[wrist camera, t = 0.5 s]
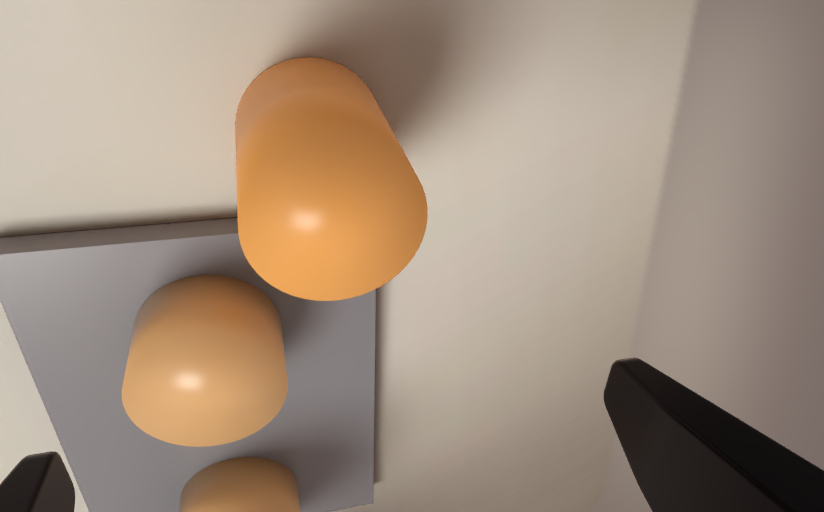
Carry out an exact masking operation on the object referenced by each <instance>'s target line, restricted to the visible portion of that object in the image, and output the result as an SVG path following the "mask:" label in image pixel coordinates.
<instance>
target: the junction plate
mask: <svg viewBox="0 0 824 512" xmlns="http://www.w3.org/2000/svg"><path fill="white" fill-rule="evenodd" d="M0 301H1V304H2V306H3V308H4V311H5V313H6V316H7V318H8V320H9V323H10V325H11V327H12V330H13V332H14V334H15V337H16V339H17V342H18V344H19V346H20V349H21V351H22V353H23V356H24V358H25V360H26V363H27V365H28V368H29V370H30V372H31V375H32V377H33V379H34V382H35V384H36V387H37V389H38V391H39V394H40V396H41V398H42V401H43V403H44V405H45V408H46V410H47V413H48V415H49V417H50V420H51V422H52V424H53V427H54V429H55V431H56V434H57V436H58V439H59V441H60V443H61V446H62V448H63V450H64V453H65V455H66V458H67V460H68V462H69V465H70V467H71V469H72V472H73V474H74V476H75V479H76V481H77V484H78V486H79V488H80V491H81V493H82V495H83V498H84V500H85V502H86V505H87V507H88V510H89V512H329V511H335V510H340V509H345V508H350V507H356V506H361V505H366V504H371V503H373V484H374V397H375V311H376V289H375V290H373V291H371V292H368V293H365V294H363V295H360V296H356V297H353V298H349V299H343V300H335V301H315V300H309V299H303V298H299V297H295V296H292V295H290V294H287V293H285V292H282V291H280V290H279V289H277V288H275V287H273V286H272V285H270V284H269V283H268V282H266V281H265V280H264V279H263V278H262V277H260V276H259V275H258V274H257V273H256V271H255V270H254V269H253V268H252V266H251V265H250V264H249V262H248V260H247V259H246V257H245V255H244V252H243V250H242V247H241V244H240V240H239V235H238V218H229V219H218V220H206V221H194V222H182V223H170V224H158V225H146V226H134V227H122V228H110V229H98V230H86V231H74V232H63V233H51V234H39V235H27V236H15V237H3V238H0Z"/></svg>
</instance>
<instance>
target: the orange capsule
mask: <svg viewBox="0 0 824 512" xmlns="http://www.w3.org/2000/svg"><path fill="white" fill-rule="evenodd" d="M235 136H236V175H237V214H238V235H239V240H240V244H241V247H242V250H243V252H244V255H245V257H246V259H247V260H248V262H249V264H250V265H251V266H252V268H253V269H254V270H255V271H256V273H257V274H258V275H259V276H260V277H262V278H263V279H264V280H265V281H266V282H268V283H269V284H270V285H272V286H273V287H275V288H277V289H279V290H280V291H282V292H285V293H287V294H290V295H292V296H295V297H299V298H303V299H309V300H315V301H335V300H343V299H349V298H353V297H356V296H360V295H363V294H365V293H368V292H371V291H373V290H375V289H377V288H379V287H381V286H382V285H384V284H385V283H387V282H388V281H390V280H391V279H393V278H394V277H395V276H396V275H397V274H399V273H400V272H401V271H402V270H403V269H404V268H405V267H406V266H407V264H408V263H409V262H410V261H411V259H412V258H413V257H414V255H415V253H416V252H417V250H418V248H419V246H420V244H421V242H422V239H423V237H424V233H425V230H426V224H427V202H426V196H425V193H424V190H423V187H422V185H421V183H420V181H419V179H418V177H417V175H416V173H415V172H414V170H413V168H412V166H411V164H410V162H409V161H408V159H407V157H406V155H405V153H404V151H403V149H402V148H401V146H400V144H399V142H398V140H397V138H396V137H395V135H394V133H393V131H392V129H391V127H390V126H389V124H388V122H387V120H386V118H385V116H384V114H383V113H382V111H381V109H380V107H379V105H378V103H377V102H376V100H375V98H374V96H373V94H372V92H371V91H370V89H369V88H368V86H367V85H366V84H365V83H364V82H363V80H362V79H361V78H360V77H359V76H357V75H356V74H355V73H354V72H353V71H351V70H350V69H348V68H346V67H345V66H343V65H341V64H338V63H336V62H333V61H330V60H327V59H322V58H315V57H303V58H294V59H290V60H286V61H283V62H280V63H278V64H275V65H274V66H272V67H270V68H268V69H267V70H265V71H264V72H262V73H261V74H260V75H259V76H258V77H257V78H255V79H254V80H253V81H252V83H251V84H250V85H249V86H248V88H247V89H246V91H245V93H244V94H243V96H242V98H241V100H240V103H239V105H238V109H237V113H236V121H235Z"/></svg>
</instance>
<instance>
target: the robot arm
mask: <svg viewBox="0 0 824 512" xmlns="http://www.w3.org/2000/svg"><path fill="white" fill-rule="evenodd" d="M604 402H605V406H606V409H607V411H608V413H609V416H610V418H611V421H612V423H613V426H614V428H615V430H616V433H617V435H618V438H619V440H620V443H621V445H622V447H623V450H624V452H625V455H626V457H627V459H628V462H629V464H630V467H631V469H632V471H633V474H634V476H635V478H636V480H637V483H638V485H639V487H640V489H641V491H642V493H643V494H644V496H645V498H646V500H647V502H648V504H649V506H650V507H651V509H652V511H653V512H824V470H822V469H820V468H819V467H817V466H815V465H814V464H812V463H810V462H809V461H807V460H805V459H804V458H802V457H800V456H799V455H797V454H795V453H794V452H792V451H791V450H789V449H787V448H785V447H784V446H782V445H781V444H779V443H777V442H776V441H774V440H772V439H771V438H769V437H767V436H766V435H764V434H763V433H761V432H759V431H758V430H756V429H754V428H753V427H751V426H749V425H748V424H746V423H744V422H743V421H741V420H739V419H738V418H736V417H734V416H733V415H731V414H730V413H728V412H726V411H724V410H723V409H721V408H720V407H718V406H716V405H715V404H713V403H711V402H710V401H708V400H706V399H704V398H703V397H701V396H700V395H698V394H697V393H695V392H693V391H692V390H690V389H688V388H686V387H685V386H683V385H682V384H680V383H678V382H676V381H675V380H673V379H672V378H670V377H669V376H667V375H665V374H664V373H662V372H660V371H659V370H657V369H655V368H654V367H652V366H650V365H649V364H647V363H645V362H644V361H642V360H640V359H638V358H628V359H622V360H617V361H615V362H614V363H613V364H612V367H611V370H610V373H609V377H608V380H607V383H606V387H605V390H604ZM74 506H75V490H74V486H73V483H72V481H71V478H70V476H69V474H68V472H67V470H66V467H65V465H64V463H63V461H62V459H61V457H60V455H59V454H58V453H57V452H46V453H39V454H33V455H29V456H26V457H25V458H23V459H22V460H21V461H20V462H19V463H18V464H17V465H16V467H15V468H14V469H13V470H12V471H11V472H10V474H9V475H8V476H7V477H6V478H5V479H4V480H3V482H2V483H1V484H0V512H74Z"/></svg>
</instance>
